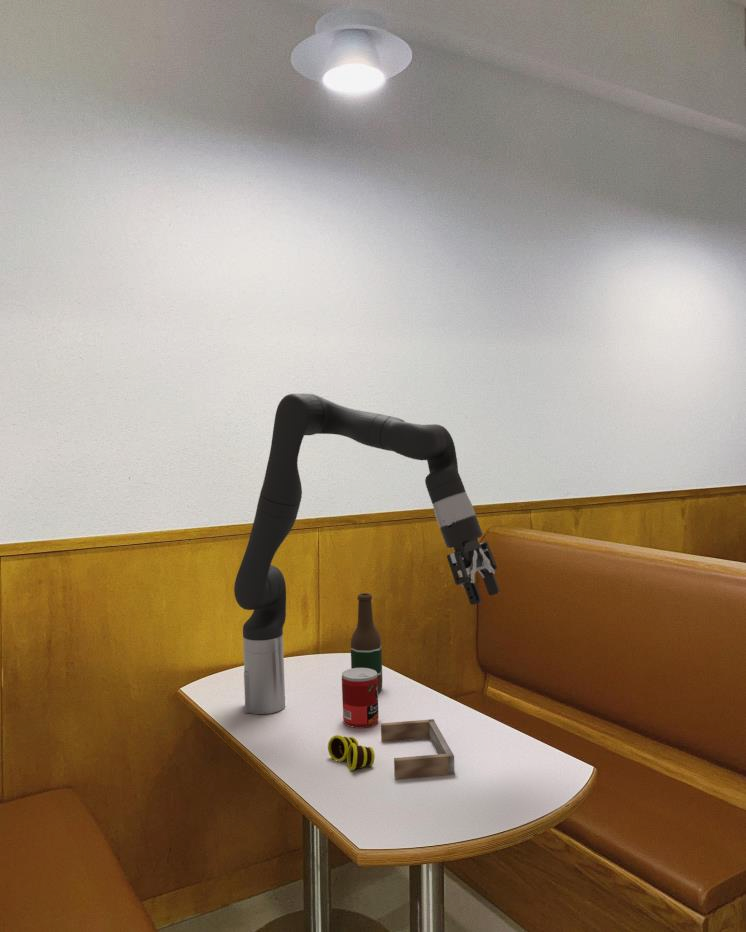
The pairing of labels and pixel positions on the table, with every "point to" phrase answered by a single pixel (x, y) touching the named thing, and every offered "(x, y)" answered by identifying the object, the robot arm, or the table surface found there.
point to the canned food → (360, 697)
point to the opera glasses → (350, 752)
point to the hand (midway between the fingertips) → (485, 598)
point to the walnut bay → (419, 764)
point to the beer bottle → (366, 640)
